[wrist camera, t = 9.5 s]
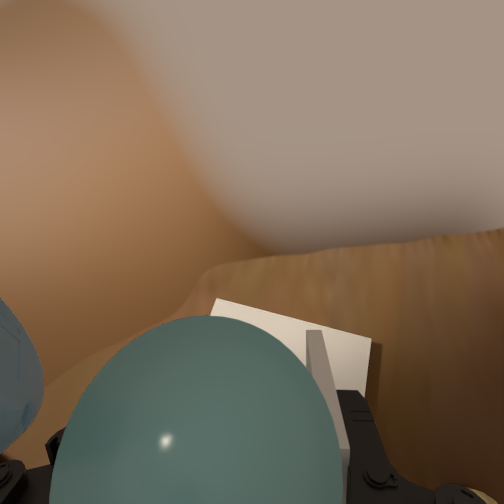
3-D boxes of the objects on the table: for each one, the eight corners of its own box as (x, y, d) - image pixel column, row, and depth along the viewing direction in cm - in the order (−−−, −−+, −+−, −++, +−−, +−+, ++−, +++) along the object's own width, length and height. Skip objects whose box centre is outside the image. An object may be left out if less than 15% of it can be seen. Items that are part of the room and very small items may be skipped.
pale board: (136, 527, 25) (129, 531, 24) (218, 301, 34) (216, 298, 33) (334, 621, 21) (336, 631, 20) (368, 341, 30) (371, 338, 29)
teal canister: (187, 475, 17) (-16, 587, 6) (222, 366, 20) (133, 291, 8) (292, 518, 16) (308, 779, 4) (315, 394, 18) (361, 352, 7)
